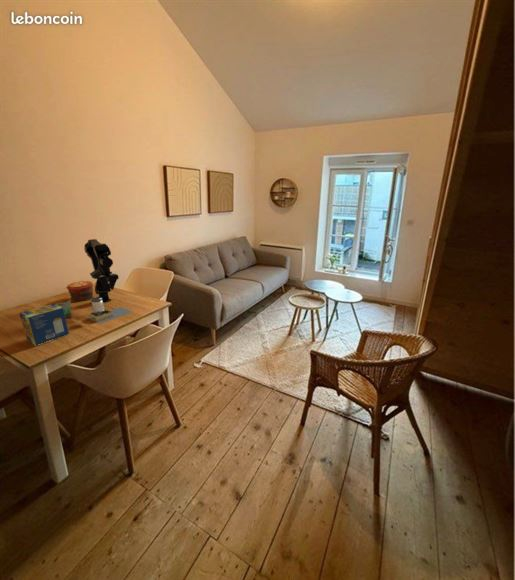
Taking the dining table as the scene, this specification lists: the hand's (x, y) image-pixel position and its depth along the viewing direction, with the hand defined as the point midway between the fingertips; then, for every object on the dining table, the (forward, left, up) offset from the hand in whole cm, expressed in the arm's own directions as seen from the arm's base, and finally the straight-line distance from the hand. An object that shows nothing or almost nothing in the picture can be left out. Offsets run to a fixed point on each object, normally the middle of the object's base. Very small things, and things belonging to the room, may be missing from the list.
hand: (108, 288), depth 181 cm
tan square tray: (+13, -14, -12) cm, 22 cm away
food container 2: (-34, -2, -13) cm, 37 cm away
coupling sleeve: (+13, -14, -12) cm, 22 cm away
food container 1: (-6, -26, -13) cm, 30 cm away
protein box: (+13, -41, -13) cm, 45 cm away
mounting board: (+14, -8, -13) cm, 21 cm away
